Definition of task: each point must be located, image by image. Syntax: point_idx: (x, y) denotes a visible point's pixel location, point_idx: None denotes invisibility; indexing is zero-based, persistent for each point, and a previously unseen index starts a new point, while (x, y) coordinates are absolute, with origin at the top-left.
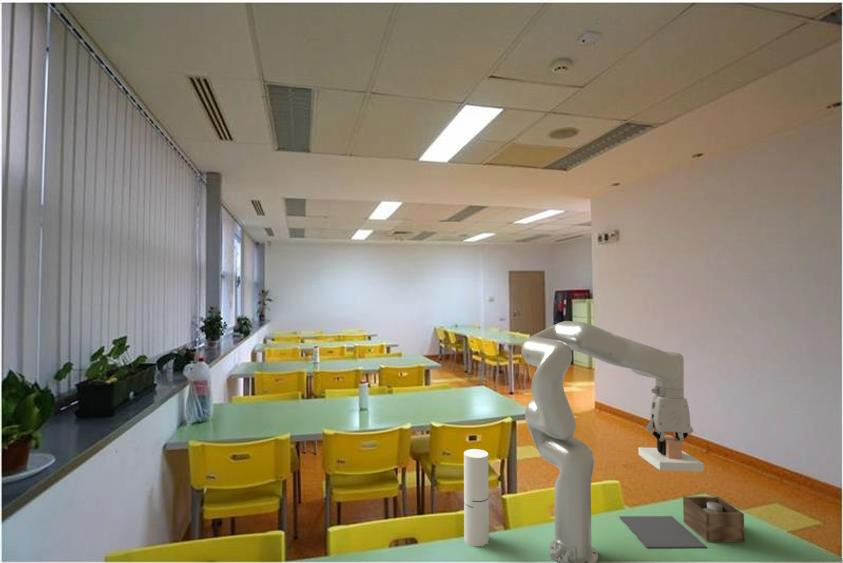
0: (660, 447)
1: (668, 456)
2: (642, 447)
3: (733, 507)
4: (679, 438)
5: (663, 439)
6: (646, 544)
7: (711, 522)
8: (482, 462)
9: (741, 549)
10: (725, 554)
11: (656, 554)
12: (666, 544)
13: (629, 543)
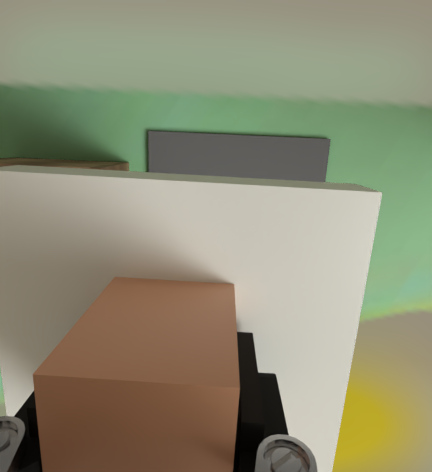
0: (272, 393)
1: (234, 290)
2: None
3: None
4: (13, 464)
5: (263, 457)
6: (323, 150)
7: (92, 165)
8: None
9: (49, 118)
10: (114, 94)
11: (320, 105)
12: (262, 147)
13: (363, 166)
